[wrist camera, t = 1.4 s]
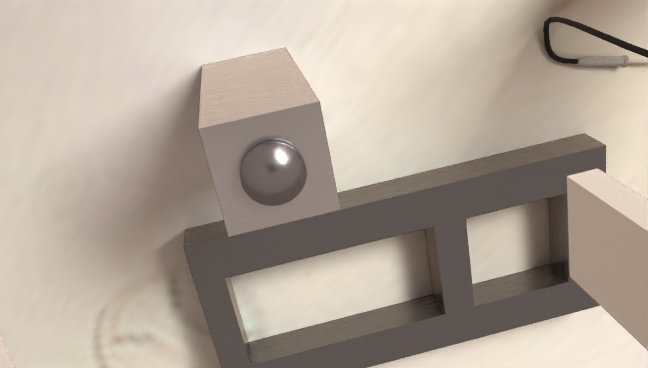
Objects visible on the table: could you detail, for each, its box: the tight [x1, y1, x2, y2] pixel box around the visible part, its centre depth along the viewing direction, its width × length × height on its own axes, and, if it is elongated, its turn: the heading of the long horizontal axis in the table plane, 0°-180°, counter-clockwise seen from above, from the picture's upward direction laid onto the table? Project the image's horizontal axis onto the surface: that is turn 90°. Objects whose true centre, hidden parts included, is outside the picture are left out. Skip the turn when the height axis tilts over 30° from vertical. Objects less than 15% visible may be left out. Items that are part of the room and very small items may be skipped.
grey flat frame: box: [184, 133, 606, 368], centre depth 34 cm, size 10×22×2 cm, turn 101°
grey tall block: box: [198, 47, 341, 237], centre depth 25 cm, size 4×4×10 cm
